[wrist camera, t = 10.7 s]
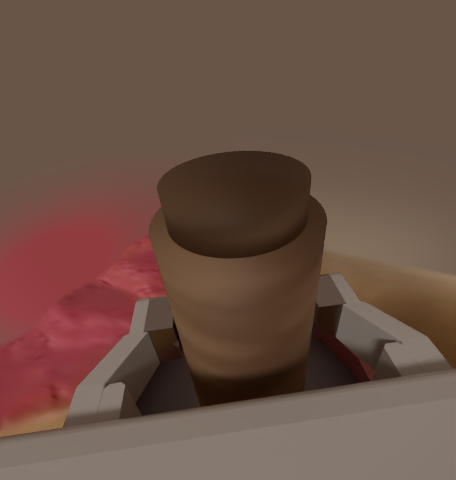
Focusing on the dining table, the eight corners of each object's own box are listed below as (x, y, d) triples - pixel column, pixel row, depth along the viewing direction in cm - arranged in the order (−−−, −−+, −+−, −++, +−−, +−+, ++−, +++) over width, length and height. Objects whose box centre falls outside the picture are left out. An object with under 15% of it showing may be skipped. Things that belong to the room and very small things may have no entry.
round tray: (71, 692, 10) (37, 702, 8) (138, 330, 22) (129, 308, 20) (489, 614, 10) (525, 610, 9) (327, 303, 22) (331, 280, 21)
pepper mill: (204, 467, 12) (118, 242, 5) (201, 362, 16) (150, 156, 9) (315, 449, 13) (374, 208, 6) (285, 350, 17) (296, 139, 10)
